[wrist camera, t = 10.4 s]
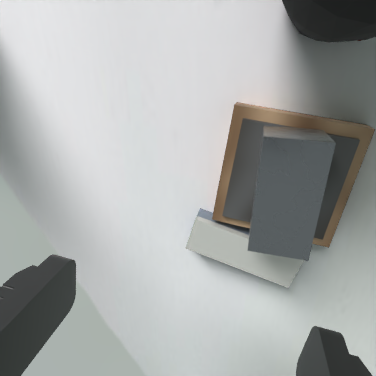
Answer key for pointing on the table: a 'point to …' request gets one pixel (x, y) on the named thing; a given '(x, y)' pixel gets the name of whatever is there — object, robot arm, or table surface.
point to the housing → (289, 190)
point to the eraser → (238, 250)
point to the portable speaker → (333, 19)
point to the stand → (249, 158)
